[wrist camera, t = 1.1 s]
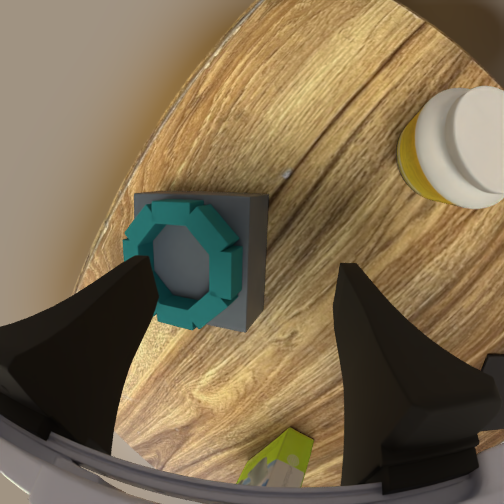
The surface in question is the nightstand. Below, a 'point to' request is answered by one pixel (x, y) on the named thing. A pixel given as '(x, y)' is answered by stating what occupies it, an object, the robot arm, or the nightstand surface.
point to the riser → (197, 259)
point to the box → (279, 462)
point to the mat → (500, 370)
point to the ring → (211, 239)
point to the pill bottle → (456, 148)
